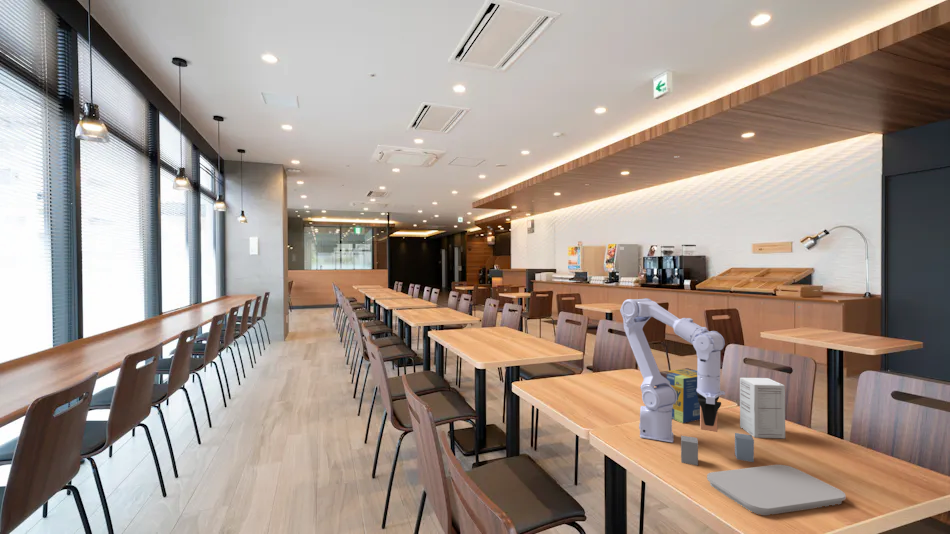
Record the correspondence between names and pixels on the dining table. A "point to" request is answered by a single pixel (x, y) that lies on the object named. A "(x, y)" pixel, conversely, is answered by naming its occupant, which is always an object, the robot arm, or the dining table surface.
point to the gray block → (689, 450)
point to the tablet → (775, 489)
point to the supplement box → (762, 407)
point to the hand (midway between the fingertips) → (708, 422)
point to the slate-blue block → (744, 447)
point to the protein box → (684, 394)
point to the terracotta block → (706, 427)
